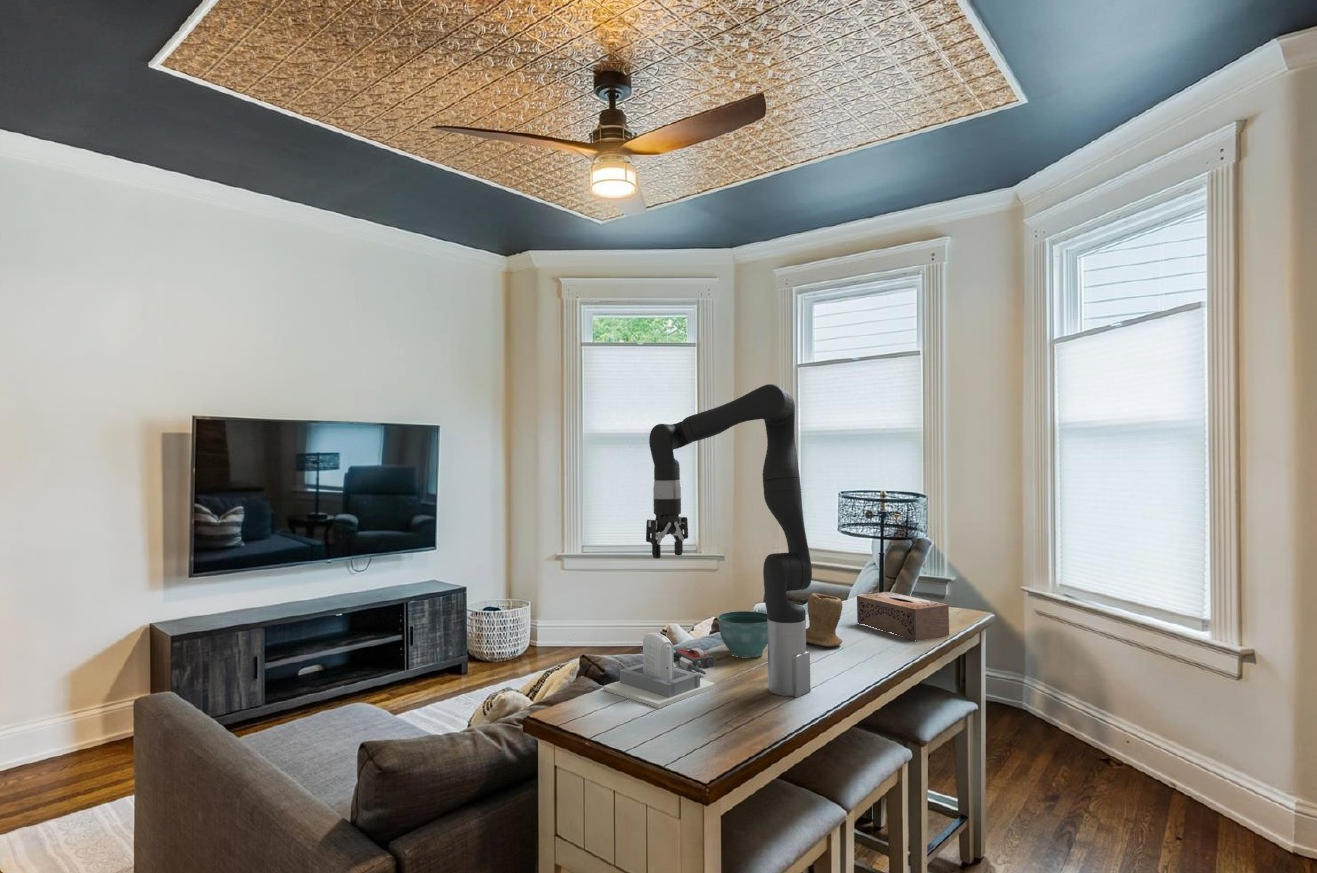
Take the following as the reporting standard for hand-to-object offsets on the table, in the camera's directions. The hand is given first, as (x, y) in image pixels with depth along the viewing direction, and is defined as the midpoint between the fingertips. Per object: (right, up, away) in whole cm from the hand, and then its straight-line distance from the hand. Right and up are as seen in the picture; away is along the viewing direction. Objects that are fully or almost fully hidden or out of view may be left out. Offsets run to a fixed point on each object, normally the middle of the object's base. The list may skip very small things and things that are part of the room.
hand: (667, 556), depth 190 cm
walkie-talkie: (+8, -31, +1) cm, 32 cm away
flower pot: (+23, -31, +12) cm, 40 cm away
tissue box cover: (+78, -31, +39) cm, 92 cm away
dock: (-2, -29, -18) cm, 35 cm away
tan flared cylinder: (+47, -31, +23) cm, 61 cm away
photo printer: (-3, -29, -18) cm, 34 cm away
